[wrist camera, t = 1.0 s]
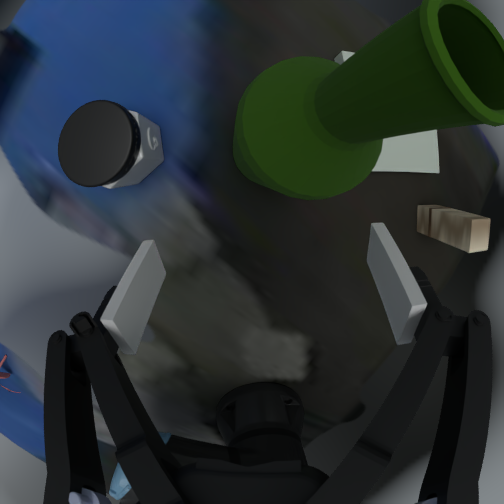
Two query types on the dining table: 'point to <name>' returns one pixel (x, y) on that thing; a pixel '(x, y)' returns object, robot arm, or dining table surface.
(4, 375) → the figurine
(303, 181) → the wine bottle
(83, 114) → the jar
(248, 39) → the dining table surface
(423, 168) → the plinth
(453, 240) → the peg
